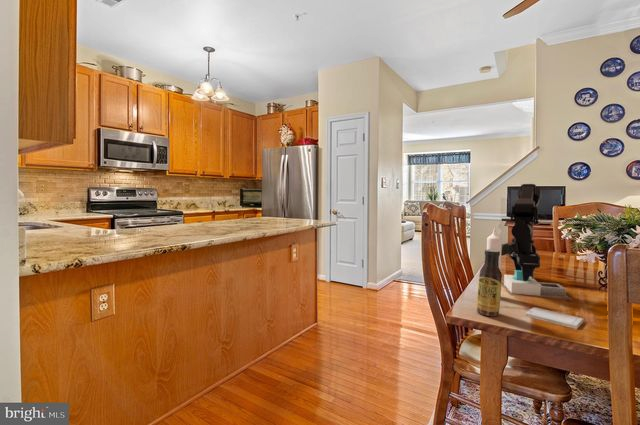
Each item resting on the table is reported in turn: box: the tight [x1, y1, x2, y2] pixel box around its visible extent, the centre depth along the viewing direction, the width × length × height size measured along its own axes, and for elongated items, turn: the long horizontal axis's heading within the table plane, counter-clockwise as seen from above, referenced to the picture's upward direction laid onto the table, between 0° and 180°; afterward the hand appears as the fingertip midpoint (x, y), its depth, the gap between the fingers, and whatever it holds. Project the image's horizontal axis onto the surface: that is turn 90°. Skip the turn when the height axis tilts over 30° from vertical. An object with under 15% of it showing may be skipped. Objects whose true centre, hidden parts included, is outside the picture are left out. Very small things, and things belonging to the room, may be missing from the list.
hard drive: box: [525, 306, 585, 330], centre depth 96 cm, size 2×8×12 cm
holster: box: [537, 281, 567, 296], centre depth 118 cm, size 7×8×2 cm
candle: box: [486, 228, 503, 272], centre depth 112 cm, size 7×7×25 cm
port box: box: [503, 274, 541, 296], centre depth 121 cm, size 12×9×4 cm
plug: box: [513, 269, 529, 281], centre depth 121 cm, size 3×4×7 cm
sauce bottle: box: [476, 248, 503, 317], centre depth 99 cm, size 7×6×20 cm
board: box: [501, 282, 573, 301], centre depth 120 cm, size 16×18×1 cm
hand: (521, 277), depth 121 cm, fingers open, 9 cm apart
